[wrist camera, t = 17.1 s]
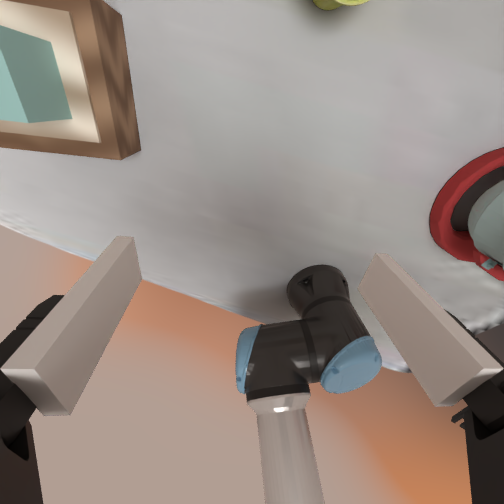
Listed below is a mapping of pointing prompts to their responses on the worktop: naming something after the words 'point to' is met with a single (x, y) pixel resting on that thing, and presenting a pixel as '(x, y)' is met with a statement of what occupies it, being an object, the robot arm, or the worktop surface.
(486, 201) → the stand mixer
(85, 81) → the walnut block
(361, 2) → the plant pot
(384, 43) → the worktop surface
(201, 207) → the worktop surface
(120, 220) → the worktop surface
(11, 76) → the teal cube
